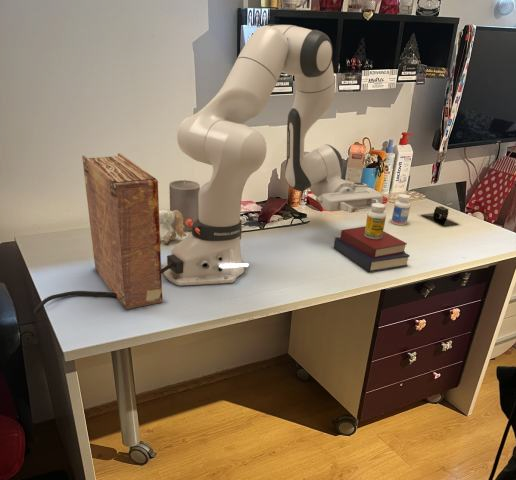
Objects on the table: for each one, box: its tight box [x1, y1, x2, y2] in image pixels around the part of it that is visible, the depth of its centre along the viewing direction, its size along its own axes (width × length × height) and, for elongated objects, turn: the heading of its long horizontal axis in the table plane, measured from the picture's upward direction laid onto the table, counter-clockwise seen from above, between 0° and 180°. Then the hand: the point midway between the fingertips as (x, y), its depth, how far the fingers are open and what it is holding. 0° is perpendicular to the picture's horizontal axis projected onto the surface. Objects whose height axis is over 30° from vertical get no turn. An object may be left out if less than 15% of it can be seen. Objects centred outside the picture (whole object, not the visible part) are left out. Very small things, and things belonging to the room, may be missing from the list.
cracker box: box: [344, 144, 367, 211], centre depth 200 cm, size 14×6×21 cm, turn 168°
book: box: [81, 152, 163, 310], centre depth 129 cm, size 25×9×30 cm, turn 31°
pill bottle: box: [391, 193, 411, 226], centre depth 188 cm, size 6×5×10 cm
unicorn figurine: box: [159, 209, 187, 245], centre depth 159 cm, size 7×20×13 cm, turn 117°
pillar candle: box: [168, 179, 201, 232], centre depth 172 cm, size 10×10×15 cm
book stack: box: [333, 225, 411, 273], centre depth 161 cm, size 14×19×6 cm
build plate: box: [420, 205, 459, 228], centre depth 195 cm, size 12×7×5 cm, turn 26°
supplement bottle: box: [364, 203, 387, 240], centre depth 157 cm, size 5×5×10 cm
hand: (366, 208), depth 160 cm, fingers open, 8 cm apart
